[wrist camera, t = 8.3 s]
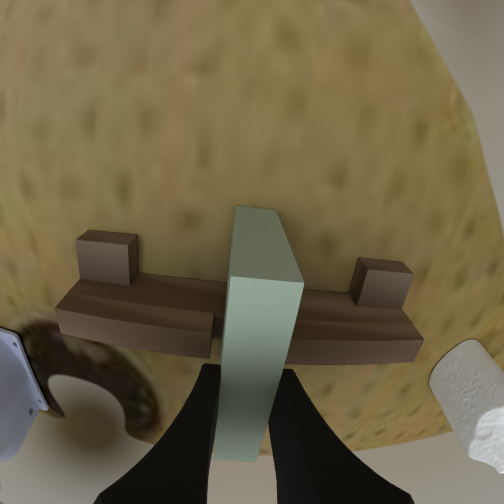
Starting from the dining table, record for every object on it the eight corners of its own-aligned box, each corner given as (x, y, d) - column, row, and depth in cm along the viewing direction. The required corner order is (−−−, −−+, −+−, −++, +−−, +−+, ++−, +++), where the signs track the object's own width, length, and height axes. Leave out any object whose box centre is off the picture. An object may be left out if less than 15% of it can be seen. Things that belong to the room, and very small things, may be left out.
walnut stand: (372, 343, 19) (397, 390, 15) (98, 319, 17) (70, 365, 13) (402, 262, 17) (441, 301, 12) (88, 229, 15) (46, 264, 11)
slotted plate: (250, 362, 19) (255, 461, 12) (219, 359, 19) (213, 459, 12) (275, 210, 15) (304, 282, 8) (235, 205, 15) (230, 276, 8)
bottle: (548, 434, 8) (553, 439, 10) (467, 329, 19) (487, 350, 21) (475, 495, 10) (494, 490, 11) (416, 381, 21) (443, 395, 22)
